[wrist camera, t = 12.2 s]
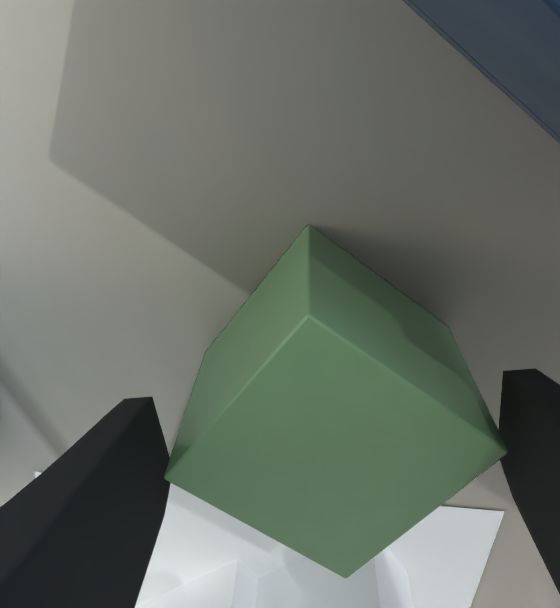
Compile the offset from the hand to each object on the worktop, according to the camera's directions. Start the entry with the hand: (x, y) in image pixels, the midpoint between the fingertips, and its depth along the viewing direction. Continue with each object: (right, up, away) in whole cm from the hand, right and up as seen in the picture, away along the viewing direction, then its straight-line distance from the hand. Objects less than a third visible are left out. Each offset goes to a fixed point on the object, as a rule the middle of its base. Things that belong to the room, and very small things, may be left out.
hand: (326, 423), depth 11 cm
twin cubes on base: (-2, -8, +8) cm, 12 cm away
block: (0, +1, +3) cm, 3 cm away
